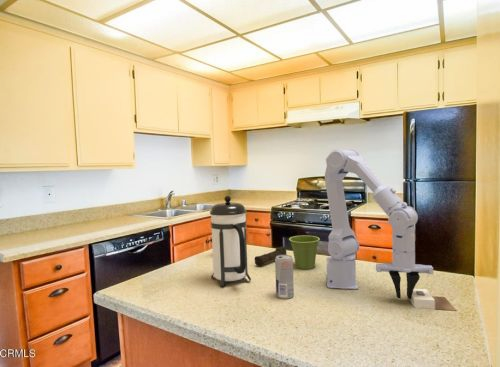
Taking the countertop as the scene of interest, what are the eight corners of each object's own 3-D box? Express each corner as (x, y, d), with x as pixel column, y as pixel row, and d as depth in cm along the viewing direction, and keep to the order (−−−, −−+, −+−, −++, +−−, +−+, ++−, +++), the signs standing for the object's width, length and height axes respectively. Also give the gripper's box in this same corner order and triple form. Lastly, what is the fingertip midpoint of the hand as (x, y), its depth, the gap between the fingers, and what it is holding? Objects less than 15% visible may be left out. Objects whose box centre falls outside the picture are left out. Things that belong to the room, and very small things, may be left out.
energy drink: (283, 291, 103) (282, 253, 102) (297, 295, 99) (296, 256, 98) (272, 296, 99) (271, 257, 99) (286, 300, 95) (285, 260, 95)
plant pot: (284, 265, 130) (283, 237, 130) (308, 261, 135) (308, 234, 135) (300, 273, 119) (300, 243, 119) (326, 268, 124) (326, 239, 124)
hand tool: (261, 266, 127) (260, 255, 128) (254, 265, 130) (253, 254, 130) (291, 256, 141) (290, 246, 141) (284, 255, 144) (283, 245, 144)
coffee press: (199, 286, 110) (195, 197, 109) (223, 271, 125) (220, 194, 123) (245, 292, 103) (241, 198, 101) (264, 276, 117) (261, 194, 116)
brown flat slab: (435, 309, 86) (435, 308, 86) (425, 296, 95) (425, 295, 95) (456, 310, 85) (456, 310, 85) (444, 297, 94) (444, 296, 94)
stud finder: (414, 307, 88) (414, 297, 88) (407, 296, 96) (407, 286, 95) (434, 309, 87) (434, 298, 86) (426, 297, 94) (426, 287, 94)
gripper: (378, 252, 89) (378, 301, 90) (436, 254, 86) (436, 305, 86) (374, 246, 96) (375, 291, 97) (428, 248, 93) (429, 294, 93)
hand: (404, 297), depth 92 cm, fingers closed
